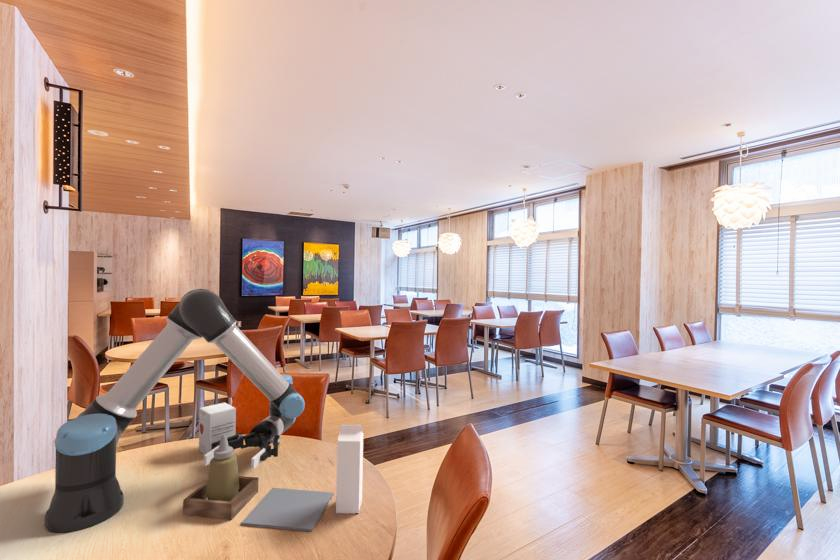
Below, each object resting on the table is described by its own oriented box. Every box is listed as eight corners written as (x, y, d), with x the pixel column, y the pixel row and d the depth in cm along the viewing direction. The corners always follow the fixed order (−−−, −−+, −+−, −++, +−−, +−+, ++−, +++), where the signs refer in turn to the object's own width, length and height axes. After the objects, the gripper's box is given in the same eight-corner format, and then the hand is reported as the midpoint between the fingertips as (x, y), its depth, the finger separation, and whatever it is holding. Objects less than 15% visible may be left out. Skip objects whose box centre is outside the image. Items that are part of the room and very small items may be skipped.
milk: (340, 500, 106) (341, 420, 106) (362, 500, 106) (363, 420, 106) (335, 513, 100) (337, 428, 100) (359, 514, 100) (360, 429, 100)
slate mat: (241, 525, 95) (241, 522, 95) (272, 489, 111) (272, 487, 111) (311, 531, 93) (311, 529, 93) (333, 494, 109) (333, 492, 109)
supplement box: (197, 450, 135) (198, 407, 134) (224, 442, 141) (225, 401, 141) (208, 458, 129) (209, 413, 129) (235, 450, 136) (236, 407, 135)
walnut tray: (182, 515, 98) (183, 499, 98) (215, 488, 111) (215, 474, 111) (231, 520, 97) (231, 504, 97) (258, 491, 110) (258, 477, 110)
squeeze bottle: (225, 514, 99) (226, 444, 99) (198, 509, 101) (199, 440, 101) (245, 496, 107) (246, 431, 107) (220, 492, 109) (221, 429, 109)
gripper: (303, 445, 125) (272, 479, 104) (230, 440, 128) (185, 472, 107) (304, 422, 125) (272, 451, 104) (231, 418, 128) (185, 445, 106)
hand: (228, 462), depth 105 cm, fingers open, 13 cm apart
